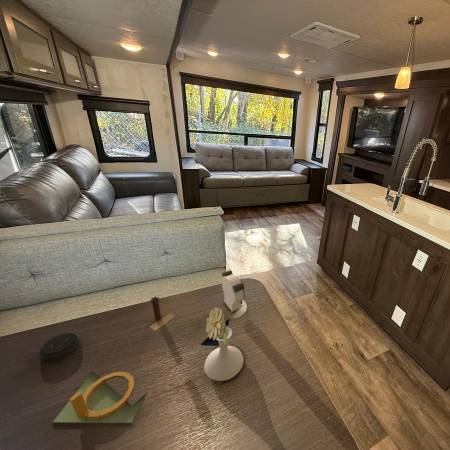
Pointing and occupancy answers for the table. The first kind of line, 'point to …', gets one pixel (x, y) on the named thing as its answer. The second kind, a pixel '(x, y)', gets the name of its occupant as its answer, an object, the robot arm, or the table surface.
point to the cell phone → (210, 341)
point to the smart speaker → (59, 347)
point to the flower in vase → (221, 350)
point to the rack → (159, 315)
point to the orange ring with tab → (81, 401)
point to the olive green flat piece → (100, 405)
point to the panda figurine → (233, 293)
